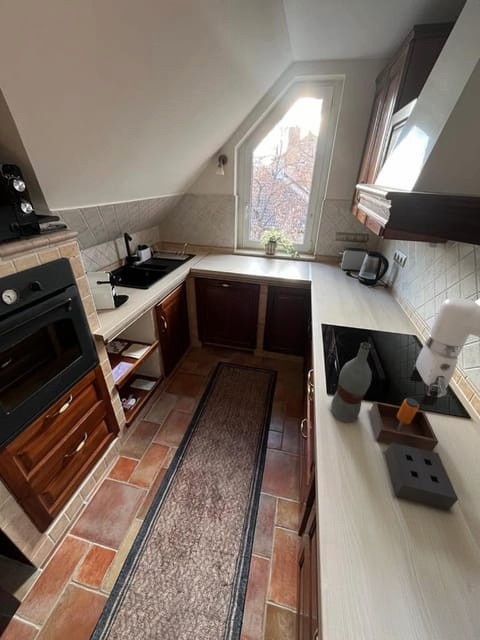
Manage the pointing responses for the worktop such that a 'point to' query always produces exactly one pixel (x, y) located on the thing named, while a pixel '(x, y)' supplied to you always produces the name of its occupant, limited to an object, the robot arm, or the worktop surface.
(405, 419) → the screwdriver
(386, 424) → the tool tray
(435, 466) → the holder
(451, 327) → the robot arm
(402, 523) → the worktop surface
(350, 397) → the bottle
